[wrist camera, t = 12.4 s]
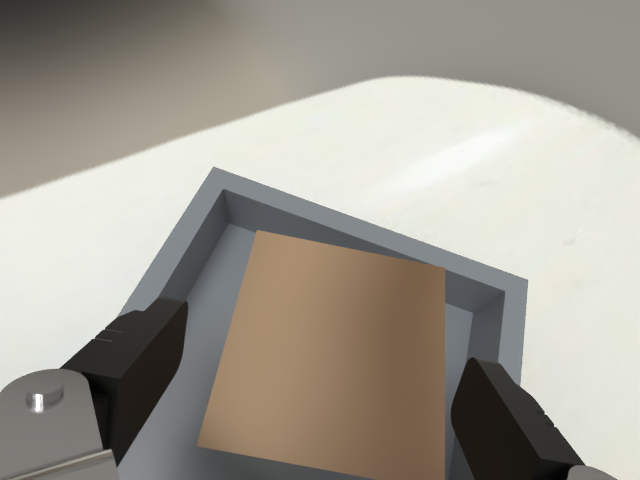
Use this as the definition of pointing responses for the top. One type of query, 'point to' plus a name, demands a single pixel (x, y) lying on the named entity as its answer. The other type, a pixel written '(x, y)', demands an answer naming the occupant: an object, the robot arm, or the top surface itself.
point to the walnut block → (334, 362)
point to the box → (221, 297)
